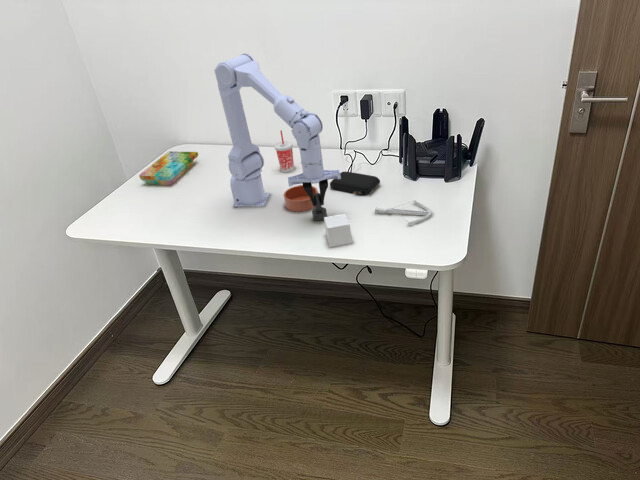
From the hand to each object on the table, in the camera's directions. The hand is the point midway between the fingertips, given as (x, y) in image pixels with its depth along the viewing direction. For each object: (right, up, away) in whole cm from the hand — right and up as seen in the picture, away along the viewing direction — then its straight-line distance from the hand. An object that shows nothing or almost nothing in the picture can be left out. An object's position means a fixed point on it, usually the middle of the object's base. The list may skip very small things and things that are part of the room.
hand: (318, 204), depth 155 cm
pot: (-6, +1, +11) cm, 12 cm away
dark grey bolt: (0, -3, +3) cm, 4 cm away
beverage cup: (-13, +16, +32) cm, 38 cm away
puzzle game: (-55, +15, +37) cm, 68 cm away
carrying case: (+10, +7, +17) cm, 21 cm away
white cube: (+6, -11, -7) cm, 14 cm away
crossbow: (+24, -3, +2) cm, 25 cm away
